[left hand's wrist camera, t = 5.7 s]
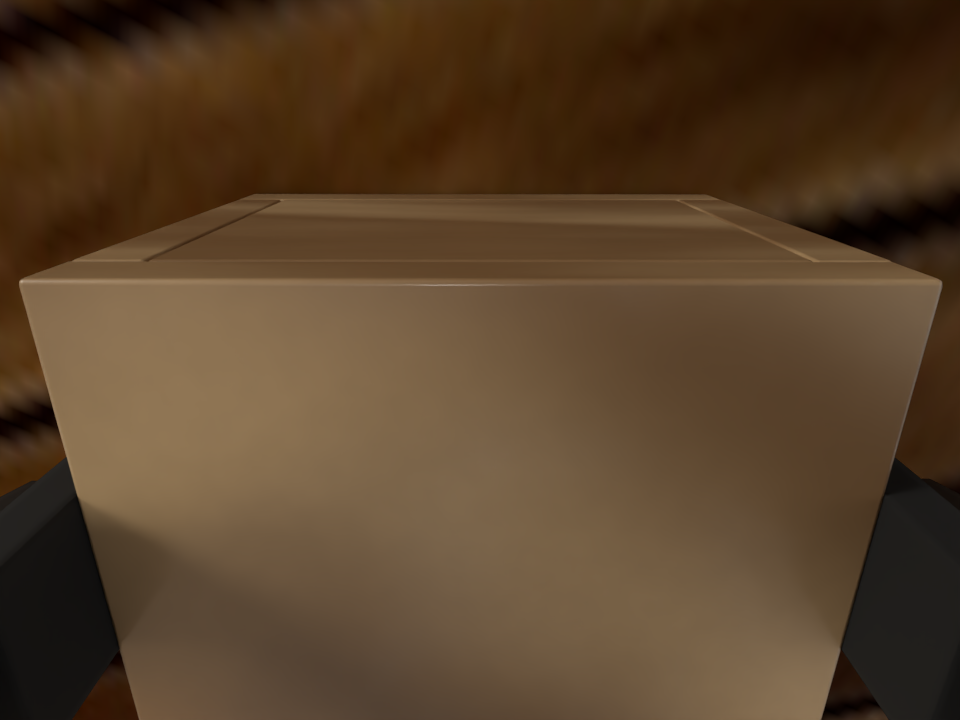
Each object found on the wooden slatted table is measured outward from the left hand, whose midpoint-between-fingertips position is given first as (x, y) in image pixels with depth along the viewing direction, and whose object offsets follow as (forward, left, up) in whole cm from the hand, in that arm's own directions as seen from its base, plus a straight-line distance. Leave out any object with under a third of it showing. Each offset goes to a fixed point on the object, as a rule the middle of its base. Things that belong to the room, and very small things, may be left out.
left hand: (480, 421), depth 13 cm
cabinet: (+1, +4, -3) cm, 5 cm away
